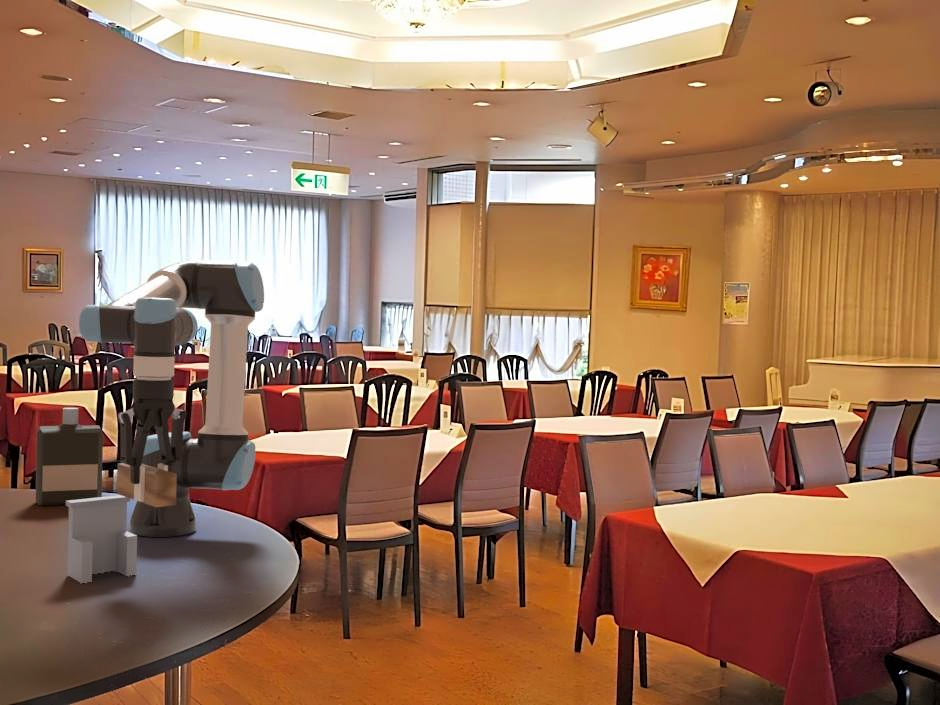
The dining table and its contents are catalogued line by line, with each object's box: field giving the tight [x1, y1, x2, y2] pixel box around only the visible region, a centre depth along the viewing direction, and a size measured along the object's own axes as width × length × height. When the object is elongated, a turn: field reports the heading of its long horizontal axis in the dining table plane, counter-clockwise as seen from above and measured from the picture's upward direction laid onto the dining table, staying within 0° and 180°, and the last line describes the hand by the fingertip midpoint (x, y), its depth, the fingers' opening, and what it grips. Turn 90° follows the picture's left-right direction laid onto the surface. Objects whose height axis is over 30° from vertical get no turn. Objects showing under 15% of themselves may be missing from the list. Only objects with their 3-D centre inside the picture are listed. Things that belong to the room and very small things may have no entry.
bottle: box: [35, 407, 104, 507], centre depth 267 cm, size 8×16×25 cm, turn 115°
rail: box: [116, 462, 177, 507], centre depth 197 cm, size 4×17×6 cm, turn 44°
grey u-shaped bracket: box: [65, 494, 138, 584], centre depth 201 cm, size 12×7×15 cm, turn 133°
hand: (150, 498), depth 196 cm, fingers closed on rail, 4 cm apart
